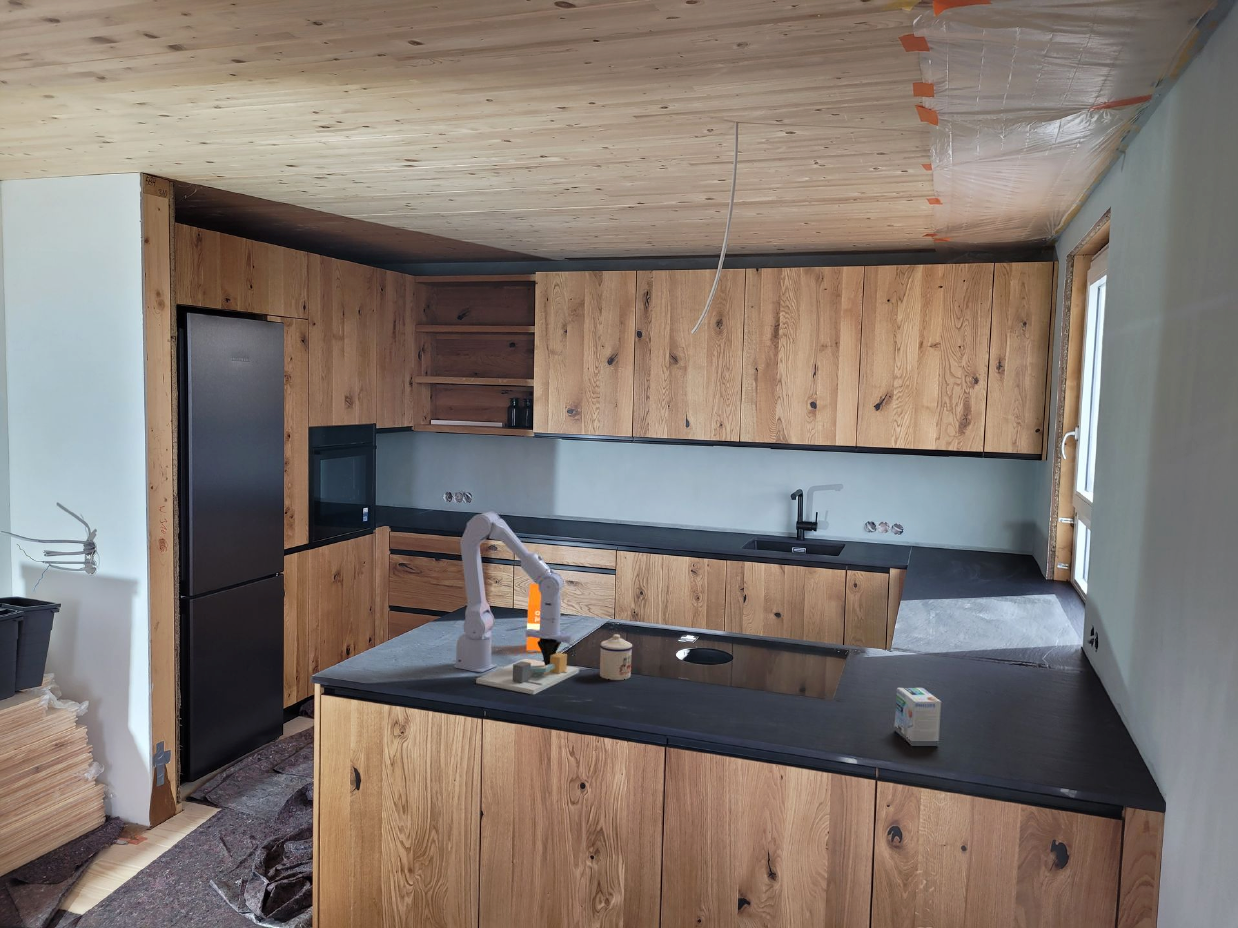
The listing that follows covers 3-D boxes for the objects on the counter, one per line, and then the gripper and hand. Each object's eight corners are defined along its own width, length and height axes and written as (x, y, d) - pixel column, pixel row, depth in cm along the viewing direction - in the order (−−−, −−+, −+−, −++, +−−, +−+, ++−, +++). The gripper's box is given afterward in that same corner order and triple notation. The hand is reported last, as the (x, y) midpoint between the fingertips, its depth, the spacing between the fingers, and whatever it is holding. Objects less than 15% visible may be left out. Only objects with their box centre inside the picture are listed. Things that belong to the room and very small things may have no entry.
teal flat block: (521, 673, 250) (520, 669, 250) (530, 669, 253) (529, 665, 254) (546, 671, 246) (545, 667, 246) (554, 668, 250) (553, 663, 250)
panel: (476, 682, 245) (476, 675, 245) (524, 662, 266) (525, 655, 266) (533, 694, 237) (533, 686, 237) (578, 672, 258) (579, 664, 258)
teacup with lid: (624, 682, 250) (626, 640, 250) (593, 677, 254) (595, 636, 253) (639, 671, 261) (641, 631, 261) (609, 667, 265) (611, 627, 264)
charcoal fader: (512, 680, 243) (513, 664, 243) (520, 677, 247) (521, 661, 247) (522, 682, 242) (522, 666, 242) (530, 678, 246) (530, 662, 245)
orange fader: (549, 671, 253) (550, 655, 253) (557, 668, 257) (557, 652, 257) (559, 673, 252) (559, 657, 252) (566, 669, 256) (567, 654, 255)
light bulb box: (893, 730, 220) (895, 686, 219) (920, 731, 220) (923, 686, 220) (911, 747, 209) (913, 700, 208) (939, 747, 210) (942, 701, 209)
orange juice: (555, 652, 279) (557, 587, 277) (526, 651, 279) (528, 586, 277) (557, 645, 286) (559, 582, 285) (529, 644, 286) (531, 581, 285)
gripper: (520, 616, 255) (518, 664, 255) (565, 623, 248) (564, 672, 249) (533, 611, 261) (532, 658, 262) (578, 618, 254) (576, 666, 255)
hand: (548, 665), depth 256 cm, fingers closed
